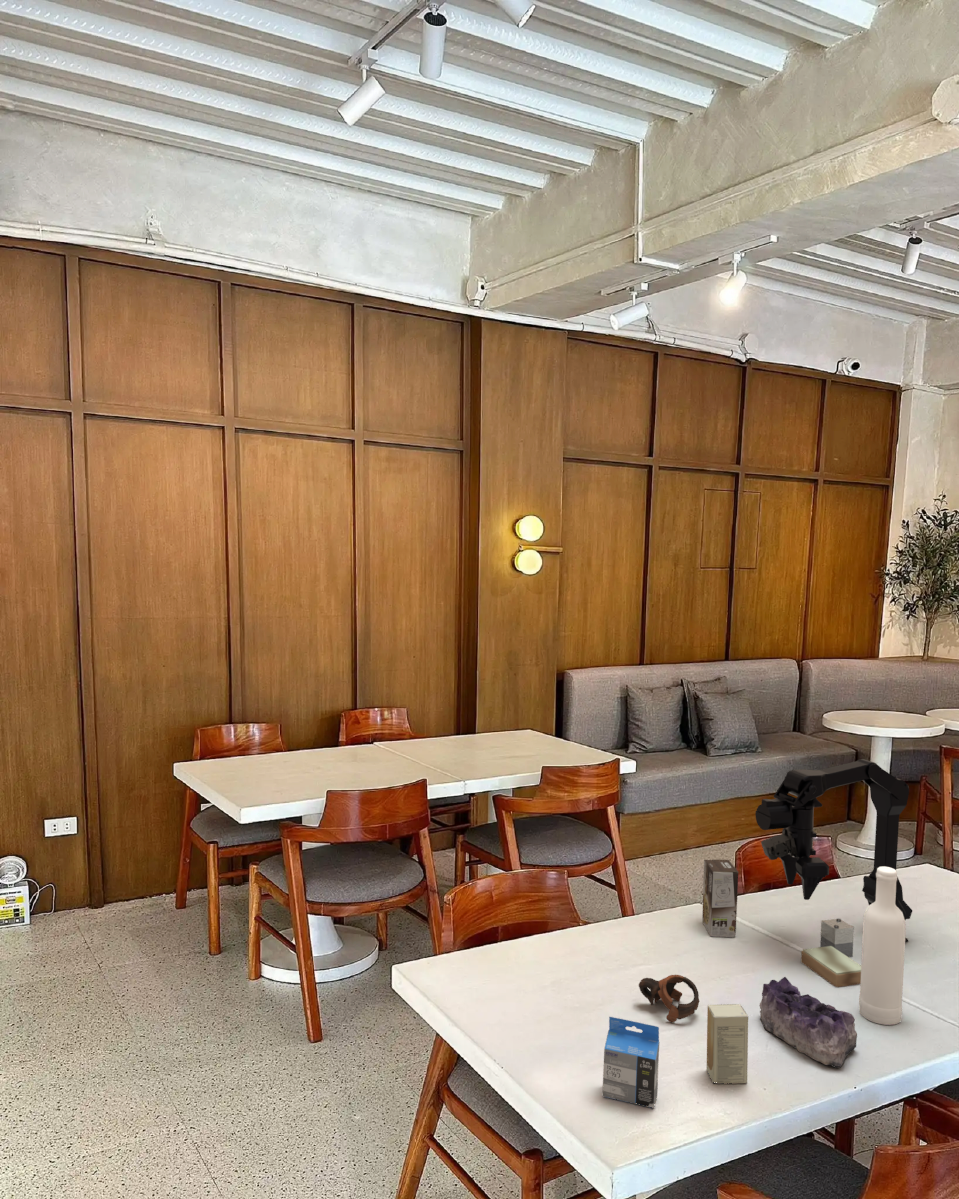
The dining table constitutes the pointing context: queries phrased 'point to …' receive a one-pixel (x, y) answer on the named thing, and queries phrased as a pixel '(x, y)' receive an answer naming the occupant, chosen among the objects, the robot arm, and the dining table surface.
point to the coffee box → (720, 898)
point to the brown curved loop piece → (670, 995)
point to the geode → (807, 1023)
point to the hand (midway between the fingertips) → (798, 891)
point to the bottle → (883, 954)
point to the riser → (832, 966)
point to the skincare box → (727, 1043)
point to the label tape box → (631, 1062)
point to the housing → (837, 936)
